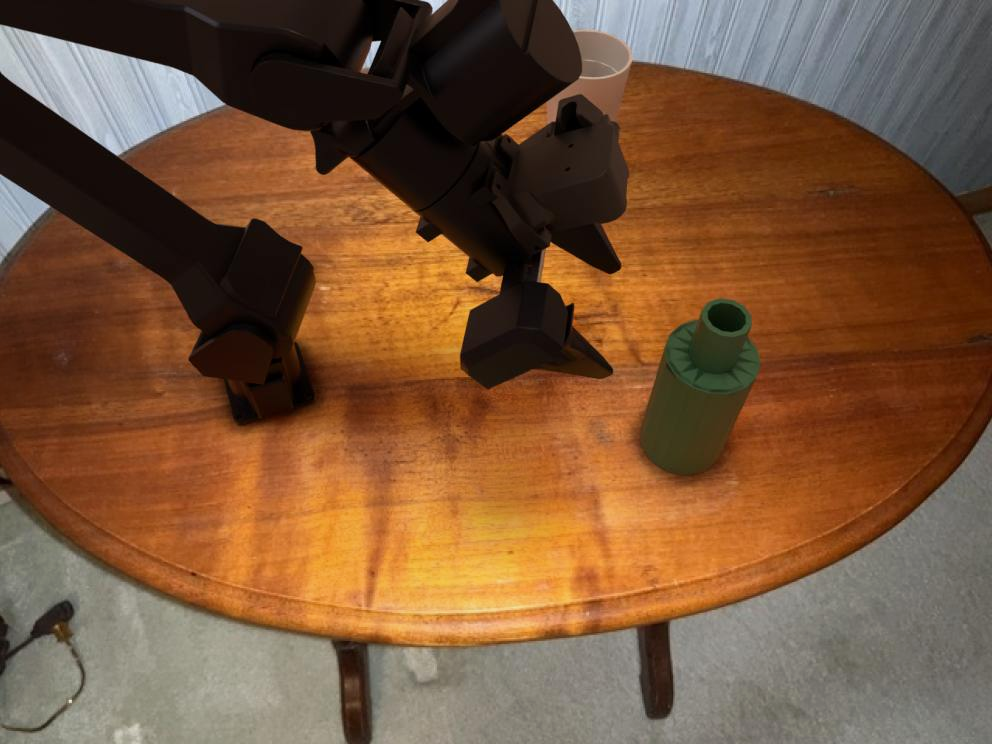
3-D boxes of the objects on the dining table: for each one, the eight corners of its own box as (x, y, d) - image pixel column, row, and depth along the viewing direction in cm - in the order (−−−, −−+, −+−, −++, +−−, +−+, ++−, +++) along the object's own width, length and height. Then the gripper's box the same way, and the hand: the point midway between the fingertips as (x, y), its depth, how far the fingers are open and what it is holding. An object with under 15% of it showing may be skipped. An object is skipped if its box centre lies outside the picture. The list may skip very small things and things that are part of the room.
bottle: (625, 420, 66) (659, 295, 54) (694, 396, 67) (742, 270, 55) (664, 486, 62) (709, 368, 50) (736, 459, 64) (797, 339, 52)
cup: (571, 194, 82) (583, 89, 72) (522, 152, 85) (528, 47, 76) (630, 164, 85) (650, 59, 75) (581, 125, 88) (594, 20, 79)
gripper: (527, 219, 36) (720, 395, 44) (567, -2, 47) (716, 171, 55) (371, 314, 43) (563, 451, 51) (438, 101, 54) (587, 242, 62)
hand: (612, 320), depth 55 cm, fingers open, 9 cm apart
